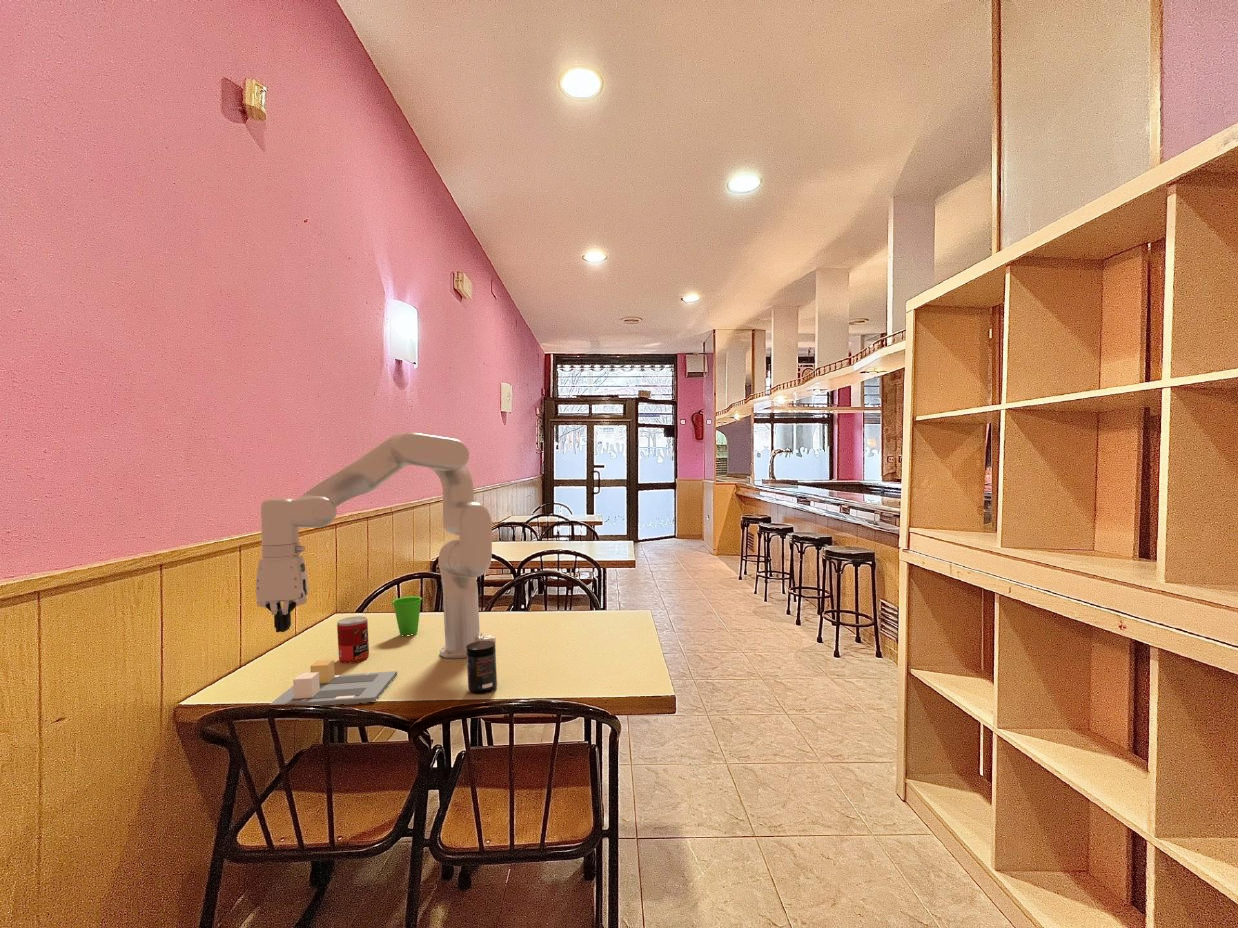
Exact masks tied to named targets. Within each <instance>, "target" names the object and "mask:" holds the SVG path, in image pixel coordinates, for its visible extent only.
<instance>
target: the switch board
mask: <svg viewBox="0 0 1238 928" xmlns="http://www.w3.org/2000/svg"><path fill="white" fill-rule="evenodd" d="M396 676H397V677H398V670H395V671H380V672H364V673H350V674H349V673H347V674H337V675H336V674H335V678H333V679H332V680H331V681H330V682H329V683H322V684H320V691H319V692H318V693H317V694H316V695H315V696H314V697H313V698H300V699H294V685H292V686H291V687H290V688H288V689H287V690H286V691H284V692H283V693H282V694H281V695H280V696H278V697H277V698H276V699H274V700H273V701H272V702H271V703H269V705H285V704H288V705H289V704H296V705H334V706H336V705H335V704H344V705H343V706H345V705H346V706H347V705H359V703H362V704H368V703H367V702H372V701H376V699H378V698H380V697H381V696H382V695H383V694H382V692H383V693H385V691H386V690H387V689H388V688H389V686H390V685H391V684H392V683H391V681H393V682H394V680H395V679H396V678H397V677H396ZM395 677H396V678H395ZM394 678H395V679H394ZM393 679H394V680H393ZM390 683H391V684H390ZM389 684H390V685H389ZM388 685H389V686H388ZM387 687H388V688H387ZM386 688H387V689H386ZM385 689H386V690H385ZM384 690H385V691H384ZM381 694H382V695H381ZM380 695H381V696H380ZM379 696H380V697H379ZM378 700H379V699H378ZM376 702H377V701H376Z"/></svg>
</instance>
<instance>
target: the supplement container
mask: <svg viewBox="0 0 1238 928" xmlns="http://www.w3.org/2000/svg"><path fill="white" fill-rule="evenodd" d="M496 646H497V645H496V643H495V642H492V641H478V642H473V643H470V644H468V645H467V646H466V654H467V657H466V665H467V666H466V669H467V671H466V672H467V689H468V691H469V692H470V693H471V694H474V695H483V694H489V693H492V692H493V691H495V690H496V688H497V686H498V677H497V676H498V675H497V654H496V653H497V649H496V648H497V647H496Z"/></svg>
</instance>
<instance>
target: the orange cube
mask: <svg viewBox="0 0 1238 928" xmlns="http://www.w3.org/2000/svg"><path fill="white" fill-rule="evenodd" d="M314 672H319V684H322V683H329V682H330V681H331V680H332V679H333V678H335V675H336V674H335V673H336V672H335V659H323V660H321V659H320V660H316V661H315V662H314V663H313V664H311V665H310V673H314Z"/></svg>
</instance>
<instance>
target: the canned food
mask: <svg viewBox="0 0 1238 928" xmlns="http://www.w3.org/2000/svg"><path fill="white" fill-rule="evenodd" d="M336 629H337V646H338V647H337V648H338V651H337V652H338V659H339V662H340V663H341V664H355V662H356V663H359V662H358V661H360V662H363V661H365V660H367V659H368V658H369V657H370V645H369V623H368V617H367V616H360V615H359V616H350V617H345V618H341V619H339V620H337V624H336Z"/></svg>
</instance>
